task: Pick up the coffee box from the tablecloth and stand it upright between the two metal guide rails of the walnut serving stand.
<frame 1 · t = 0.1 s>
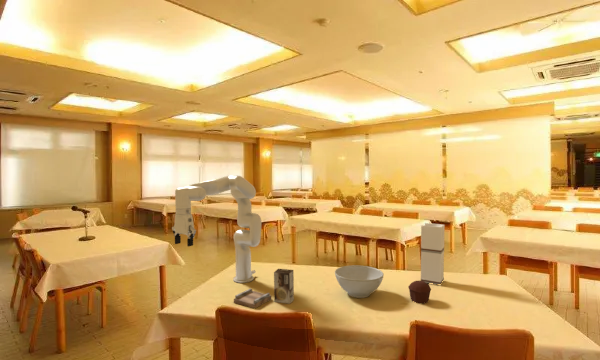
hand: (183, 244, 173), 31 cm above the table, fingers open, 9 cm apart
muffin: (419, 300, 178), on the table
coffee box: (284, 301, 179), on the table
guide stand: (252, 300, 179), on the table
mini fridge: (432, 281, 207), on the table
decorative bowl: (358, 294, 188), on the table
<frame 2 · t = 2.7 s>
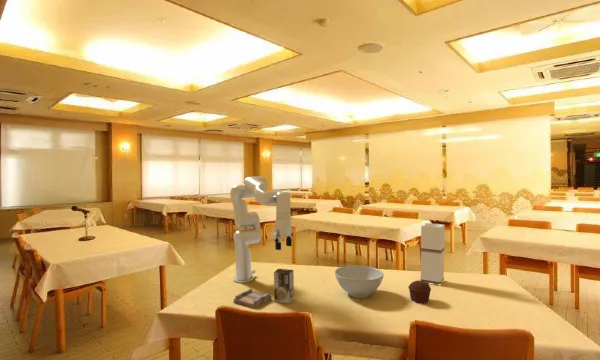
hand: (283, 247, 178), 28 cm above the table, fingers open, 9 cm apart
nothing on the table moved.
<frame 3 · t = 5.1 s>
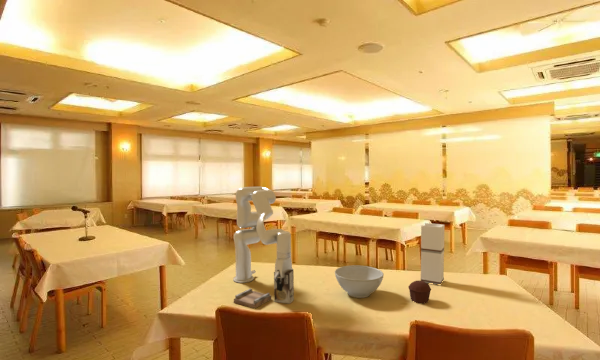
hand: (284, 287, 178), 7 cm above the table, fingers closed on coffee box, 7 cm apart
coffee box: (284, 301, 179), on the table, touching gripper
everything else where it was.
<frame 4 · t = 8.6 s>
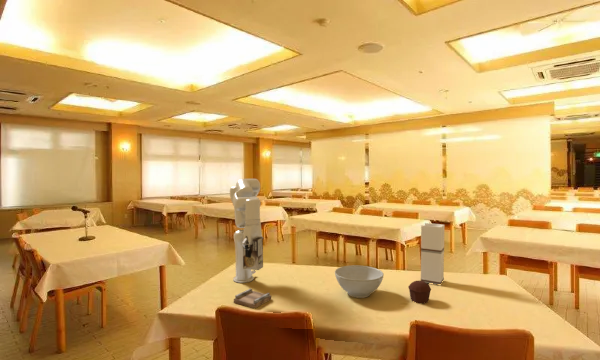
hand: (253, 255, 178), 24 cm above the table, fingers closed on coffee box, 7 cm apart
coffee box: (253, 268, 178), point 17 cm above the table, touching gripper
everything else where it was.
when the fingers open (10 cm above the table, at t = 12.0 s): coffee box drops 1 cm, resting on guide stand.
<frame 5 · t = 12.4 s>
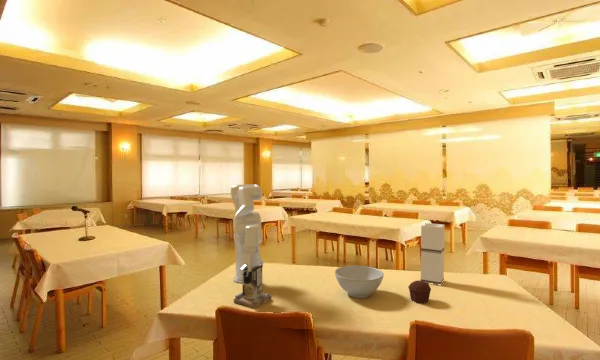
hand: (252, 280, 178), 11 cm above the table, fingers open, 9 cm apart
coffee box: (252, 297, 179), point 2 cm above the table, touching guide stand
everything else where it was.
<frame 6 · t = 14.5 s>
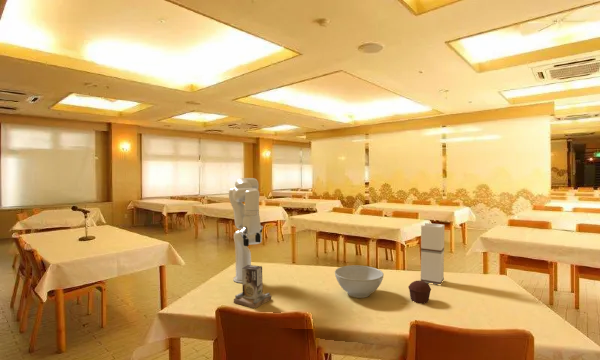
hand: (252, 244, 182), 29 cm above the table, fingers open, 9 cm apart
nothing on the table moved.
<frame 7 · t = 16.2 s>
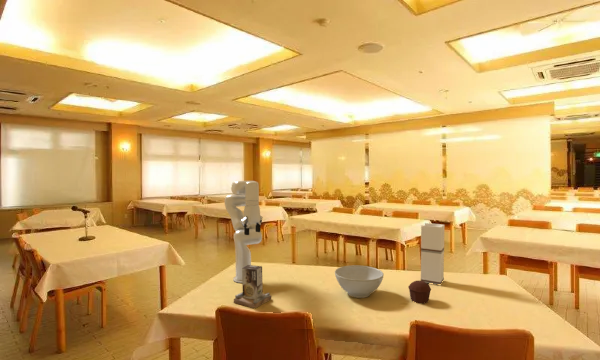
hand: (252, 233, 191), 33 cm above the table, fingers open, 9 cm apart
nothing on the table moved.
at the end: coffee box 0.3 cm off-centre on the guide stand, point 1.8 cm above the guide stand's base; coffee box tilted 0°; the gripper is holding nothing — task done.
